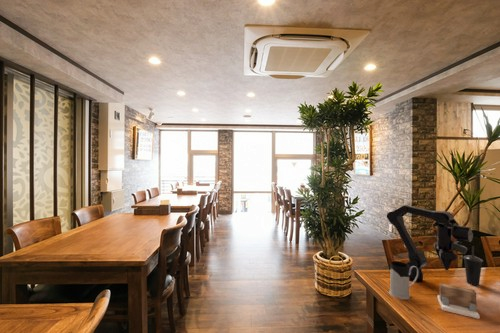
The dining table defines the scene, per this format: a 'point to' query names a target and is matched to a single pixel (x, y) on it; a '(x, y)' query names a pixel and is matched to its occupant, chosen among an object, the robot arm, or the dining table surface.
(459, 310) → the side panel
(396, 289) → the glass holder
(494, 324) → the dining table surface
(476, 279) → the drinking cup
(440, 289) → the door
